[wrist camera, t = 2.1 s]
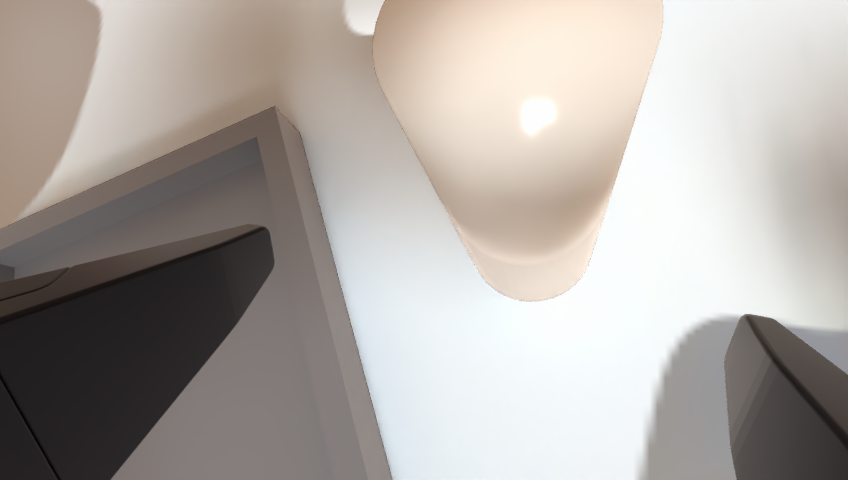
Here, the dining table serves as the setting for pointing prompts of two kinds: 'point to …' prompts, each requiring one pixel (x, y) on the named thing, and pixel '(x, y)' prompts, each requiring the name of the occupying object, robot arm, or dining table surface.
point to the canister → (519, 121)
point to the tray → (259, 326)
